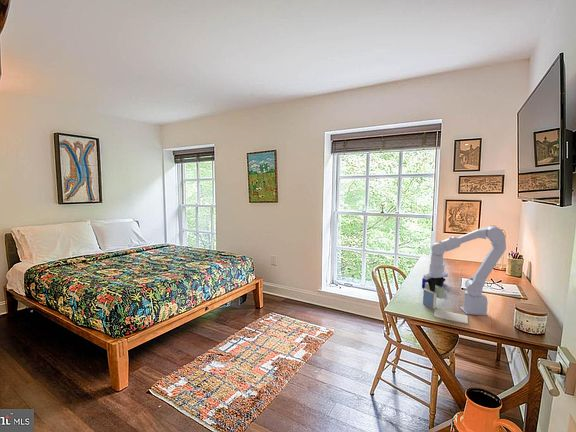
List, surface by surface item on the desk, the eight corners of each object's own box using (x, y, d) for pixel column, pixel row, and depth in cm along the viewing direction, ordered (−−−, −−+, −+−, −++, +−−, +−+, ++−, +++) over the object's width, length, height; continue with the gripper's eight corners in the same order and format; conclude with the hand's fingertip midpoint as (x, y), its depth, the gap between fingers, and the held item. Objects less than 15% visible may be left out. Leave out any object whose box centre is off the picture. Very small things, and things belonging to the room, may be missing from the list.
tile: (425, 303, 156) (426, 288, 155) (435, 308, 149) (436, 293, 148) (422, 303, 155) (423, 289, 154) (433, 308, 148) (434, 293, 148)
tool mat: (467, 316, 140) (467, 315, 140) (467, 324, 132) (468, 323, 132) (434, 309, 147) (434, 309, 147) (433, 316, 139) (433, 315, 139)
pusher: (444, 297, 149) (445, 288, 148) (439, 298, 148) (440, 289, 147) (428, 291, 158) (429, 282, 157) (424, 291, 157) (425, 282, 156)
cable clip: (444, 293, 171) (444, 283, 170) (438, 294, 169) (439, 284, 169) (427, 286, 182) (427, 277, 181) (421, 287, 180) (422, 277, 180)
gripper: (440, 262, 157) (439, 287, 159) (419, 265, 152) (418, 290, 154) (452, 266, 150) (450, 291, 152) (430, 268, 146) (428, 295, 147)
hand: (434, 291), depth 152 cm, fingers closed on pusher, 3 cm apart
